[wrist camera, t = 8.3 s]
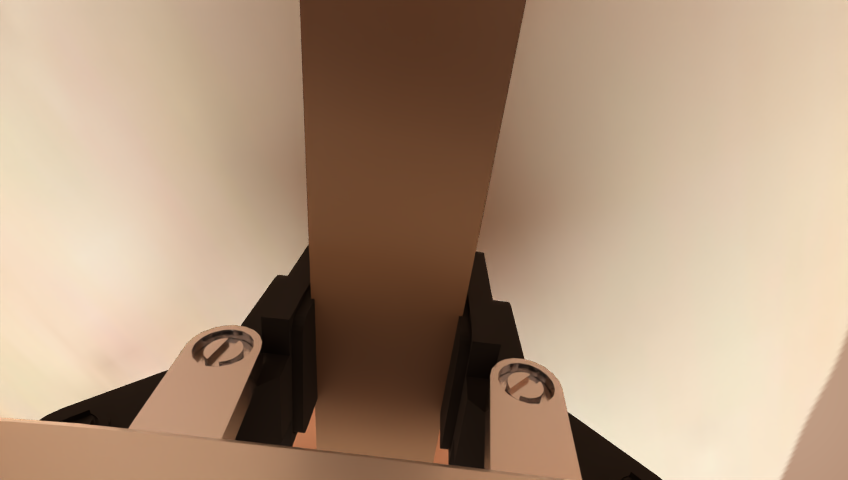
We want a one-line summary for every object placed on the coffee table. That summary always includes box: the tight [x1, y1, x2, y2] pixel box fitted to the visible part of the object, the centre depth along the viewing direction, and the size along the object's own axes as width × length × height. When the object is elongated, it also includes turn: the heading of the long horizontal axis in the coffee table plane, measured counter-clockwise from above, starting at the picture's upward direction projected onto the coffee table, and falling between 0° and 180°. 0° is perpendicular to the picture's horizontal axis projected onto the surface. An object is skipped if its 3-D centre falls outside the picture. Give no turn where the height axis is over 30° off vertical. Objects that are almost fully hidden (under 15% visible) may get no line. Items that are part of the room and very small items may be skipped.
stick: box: [300, 0, 526, 463], centre depth 11 cm, size 18×3×4 cm, turn 173°
